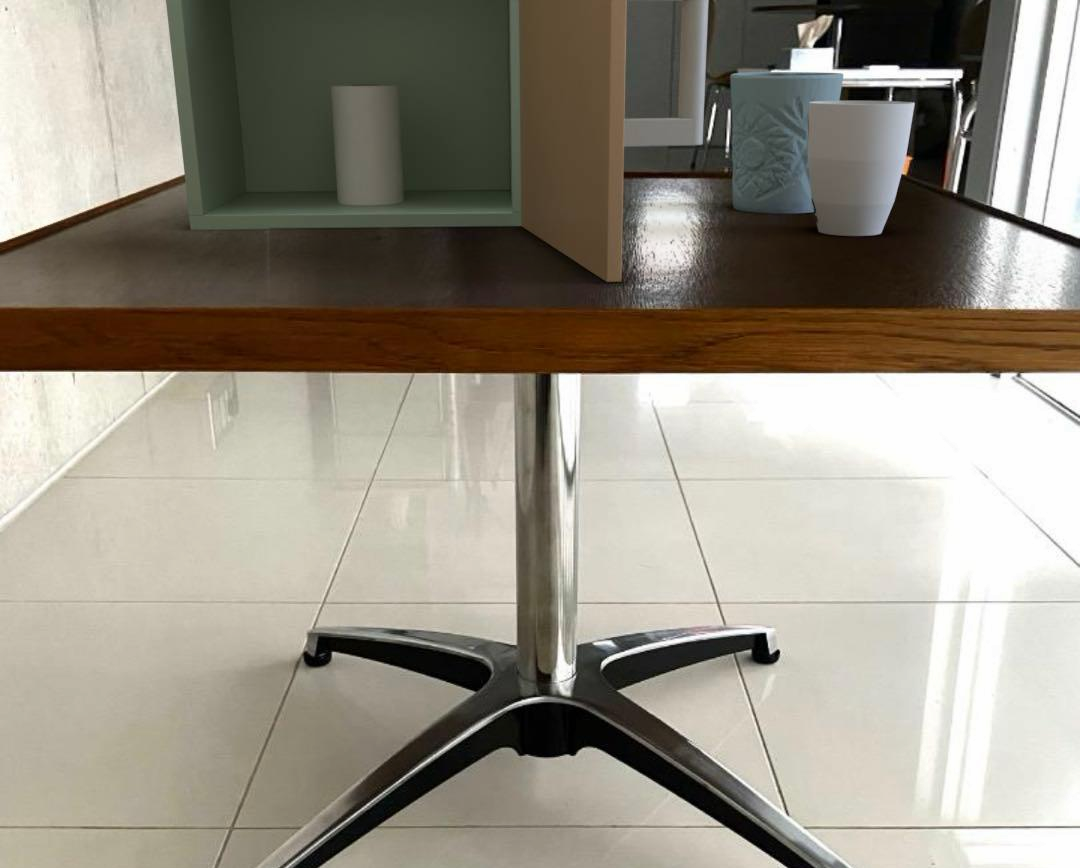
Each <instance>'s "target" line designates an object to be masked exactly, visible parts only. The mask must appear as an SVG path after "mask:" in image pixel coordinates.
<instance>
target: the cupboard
mask: <svg viewBox="0 0 1080 868" xmlns="http://www.w3.org/2000/svg"><path fill="white" fill-rule="evenodd" d="M165 5H166V15H167V25H168V33H169V42H170V51H171V60H172V62H171V63H172V70H173V80H174V88H175V97H176V98H175V99H176V107H177V118H178V125H179V134H180V144H181V153H182V164H183V173H184V181H185V182H184V183H185V190H186V199H187V209H188V215H189V216H188V219H189V227H190V231H222V230H223V231H225V230H226V231H227V230H228V231H229V230H230V231H232V230H235V231H237V230H244V231H245V230H270V229H329V228H330V229H336V228H341V229H343V228H347V229H348V228H349V229H351V228H437V227H438V228H445V227H447V228H450V227H451V228H452V227H522V226H521V156H520V60H519V0H165ZM333 85H399V96H400V119H401V141H402V163H403V186H404V202H402V203H399V204H392V205H379V206H353V205H343V204H339V203H338V195H337V179H336V164H335V148H334V133H333V117H332V101H331V86H333Z"/></svg>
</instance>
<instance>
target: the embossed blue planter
mask: <svg viewBox="0 0 1080 868" xmlns="http://www.w3.org/2000/svg"><path fill="white" fill-rule="evenodd" d="M729 81H730V97H731V98H730V99H731V111H732V117H731V119H732V130H731V131H732V136H731V148H732V152H731V153H732V154H731V163H732V181H731V182H732V183H731V185H732V189H731V191H732V206H733V209H734V210H736V211H741V212H748V213H759V214H806V213H807V214H808V213H814V209H813V204H812V200H811V188H810V176H809V164H808V120H809V102H814V101H840V100H841V92H842V87H843V81H844V73H843V72H842V73H841V72H819V71H818V72H813V71H812V72H811V71H810V72H809V71H802V72H801V71H760V72H759V71H758V72H757V71H756V72H755V71H753V72H737V73H736V72H735V73H732V74H730V80H729Z"/></svg>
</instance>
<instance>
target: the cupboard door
mask: <svg viewBox="0 0 1080 868" xmlns="http://www.w3.org/2000/svg"><path fill="white" fill-rule="evenodd" d="M629 1H630V2H649V1H650V2H681V19H680V20H681V21H680V22H681V23H680V25H681V26H680V52H679V53H680V54H679V81H678V82H679V83H678V107H677V109H678V110H677V117H647V118H646V117H645V118H643V117H642V118H641V117H638V118H626V117H625V115H626V114H625V112H626V67H627V66H626V65H627V64H626V61H627V14H628V13H627V11H628V10H627V9H628V7H627V6H628V2H629ZM709 1H710V0H519V60H520V156H521V226H520V227H521V228H523V229H525V230H526V231H528V232H529V233H530V234H532V235H534V236H535V237H537V238H539V239H540V240H541V241H542V242H545V243H546V244H548V245H549V246H551V247H552V248H553V249H555V250H557V251H558V252H560V253H562V254H563V255H564V256H566V257H567V258H568V259H570V260H572V261H573V262H575V263H576V264H578V265H579V266H581V267H583V268H584V269H586V270H587V271H589V272H590V273H592V274H594V275H595V276H597V277H598V278H599V279H601V280H602V281H604V282H606V283H620V282H622V270H623V267H622V266H623V264H622V263H623V221H624V219H623V217H624V215H623V214H624V169H625V168H624V164H625V160H624V159H625V148H635V147H637V148H638V147H639V148H640V147H644V148H645V147H679V146H680V147H682V146H684V147H687V146H688V147H690V146H702V145H703V144H704V143H703V141H704V121H705V119H704V117H705V98H706V97H705V94H706V74H707V73H706V72H707V71H706V69H707V49H708V48H707V45H708V26H709V25H708V22H709Z"/></svg>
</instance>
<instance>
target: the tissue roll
mask: <svg viewBox="0 0 1080 868" xmlns="http://www.w3.org/2000/svg"><path fill="white" fill-rule="evenodd" d="M331 101H332V117H333V133H334V148H335V164H336V179H337V195H338V203H339V204H343V205H353V206H379V205H392V204H399V203H402V202H404V186H403V163H402V141H401V119H400V96H399V85H333V86H331Z"/></svg>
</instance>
